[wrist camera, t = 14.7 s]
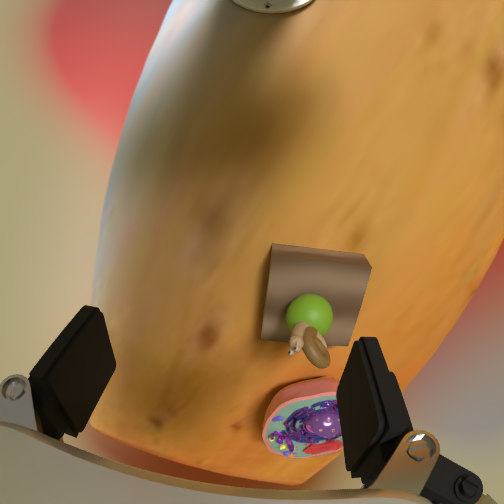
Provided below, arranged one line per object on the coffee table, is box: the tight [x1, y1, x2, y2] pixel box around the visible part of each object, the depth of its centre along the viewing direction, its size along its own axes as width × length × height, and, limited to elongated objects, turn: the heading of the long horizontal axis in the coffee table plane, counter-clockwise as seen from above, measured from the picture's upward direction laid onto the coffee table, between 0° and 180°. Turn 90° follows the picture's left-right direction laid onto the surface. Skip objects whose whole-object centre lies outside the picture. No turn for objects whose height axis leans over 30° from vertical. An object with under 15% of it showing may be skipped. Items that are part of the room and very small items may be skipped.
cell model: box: [262, 376, 343, 459], centre depth 43 cm, size 17×20×11 cm
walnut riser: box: [261, 243, 372, 346], centre depth 39 cm, size 12×12×4 cm
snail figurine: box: [286, 294, 333, 369], centre depth 31 cm, size 5×6×12 cm
